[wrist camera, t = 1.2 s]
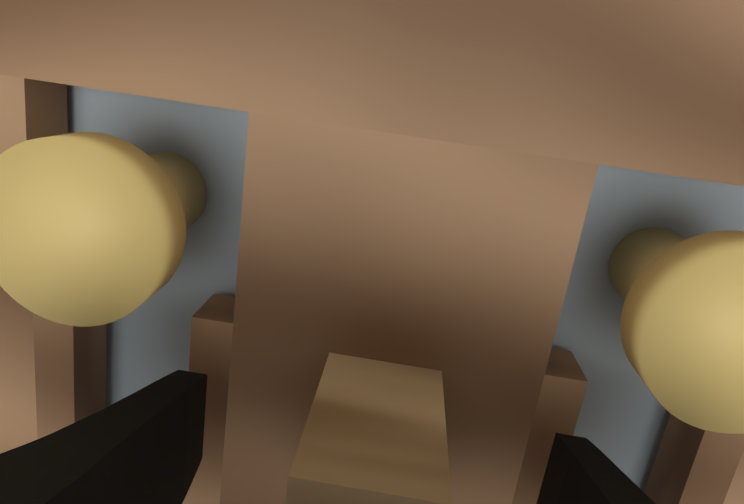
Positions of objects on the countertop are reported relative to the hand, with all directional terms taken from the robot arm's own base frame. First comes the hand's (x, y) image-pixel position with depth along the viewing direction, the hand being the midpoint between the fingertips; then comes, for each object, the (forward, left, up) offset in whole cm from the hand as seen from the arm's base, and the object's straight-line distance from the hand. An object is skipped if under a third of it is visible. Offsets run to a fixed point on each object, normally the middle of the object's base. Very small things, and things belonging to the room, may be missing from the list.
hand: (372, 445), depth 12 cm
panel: (+2, 0, -2) cm, 3 cm away
